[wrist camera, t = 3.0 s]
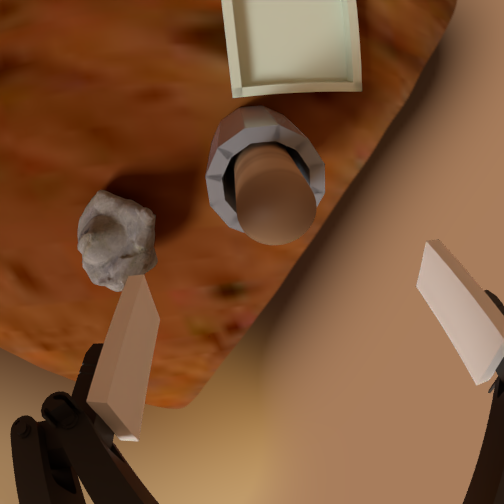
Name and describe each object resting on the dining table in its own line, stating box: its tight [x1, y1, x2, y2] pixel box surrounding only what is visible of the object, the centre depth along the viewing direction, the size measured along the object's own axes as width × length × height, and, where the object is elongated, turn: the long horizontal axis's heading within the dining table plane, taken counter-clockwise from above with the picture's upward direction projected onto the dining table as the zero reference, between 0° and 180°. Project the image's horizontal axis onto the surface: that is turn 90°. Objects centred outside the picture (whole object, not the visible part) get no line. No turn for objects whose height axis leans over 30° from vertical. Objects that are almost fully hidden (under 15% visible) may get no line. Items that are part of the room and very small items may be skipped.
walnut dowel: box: [233, 141, 317, 245], centre depth 22 cm, size 6×4×14 cm
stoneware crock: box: [205, 105, 325, 233], centre depth 25 cm, size 8×8×10 cm
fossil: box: [78, 190, 158, 292], centre depth 29 cm, size 11×9×8 cm
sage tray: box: [221, 0, 362, 98], centre depth 21 cm, size 14×11×2 cm
